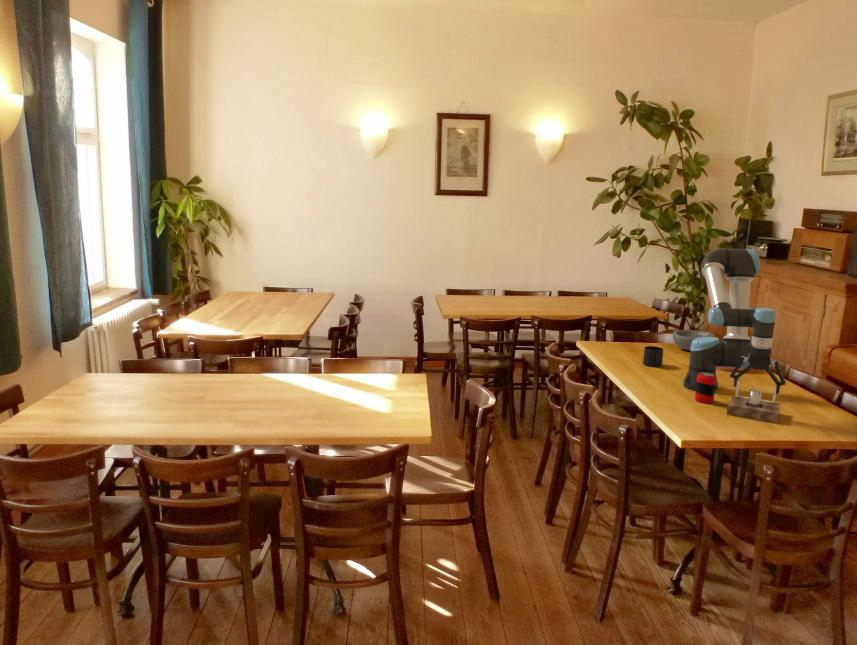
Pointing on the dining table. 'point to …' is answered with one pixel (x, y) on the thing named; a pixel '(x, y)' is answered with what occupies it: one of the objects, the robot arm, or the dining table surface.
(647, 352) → the mug
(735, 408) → the jig
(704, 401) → the soda can
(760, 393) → the bushing
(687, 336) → the bowl
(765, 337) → the robot arm
